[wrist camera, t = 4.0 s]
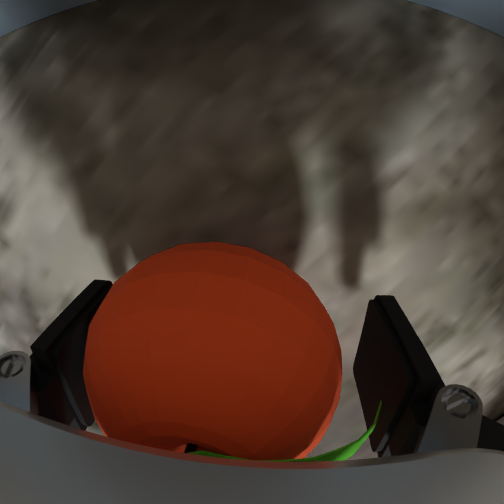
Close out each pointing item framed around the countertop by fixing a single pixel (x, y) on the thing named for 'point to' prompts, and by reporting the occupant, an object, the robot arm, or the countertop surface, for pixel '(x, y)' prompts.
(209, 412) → the clementine
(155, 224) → the countertop surface
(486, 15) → the bin
